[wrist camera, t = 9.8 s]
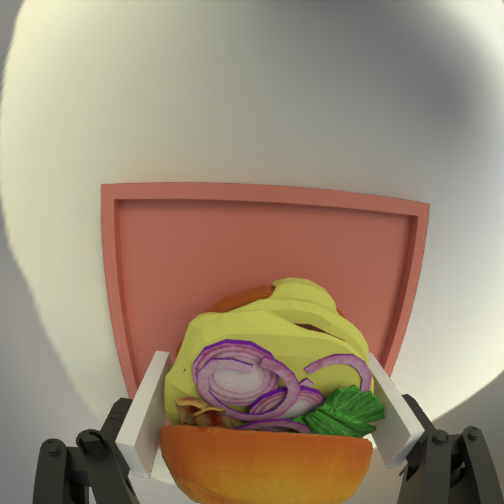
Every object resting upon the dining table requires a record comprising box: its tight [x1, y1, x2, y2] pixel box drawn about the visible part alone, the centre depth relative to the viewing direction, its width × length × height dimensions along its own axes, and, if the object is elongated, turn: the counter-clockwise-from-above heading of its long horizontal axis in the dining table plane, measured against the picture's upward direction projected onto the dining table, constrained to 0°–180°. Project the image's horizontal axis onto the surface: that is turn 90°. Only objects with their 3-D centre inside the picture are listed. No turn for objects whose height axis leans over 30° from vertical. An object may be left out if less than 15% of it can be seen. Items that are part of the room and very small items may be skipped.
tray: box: [101, 182, 430, 448], centre depth 16 cm, size 20×18×2 cm
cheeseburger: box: [159, 277, 385, 504], centre depth 11 cm, size 10×11×10 cm
